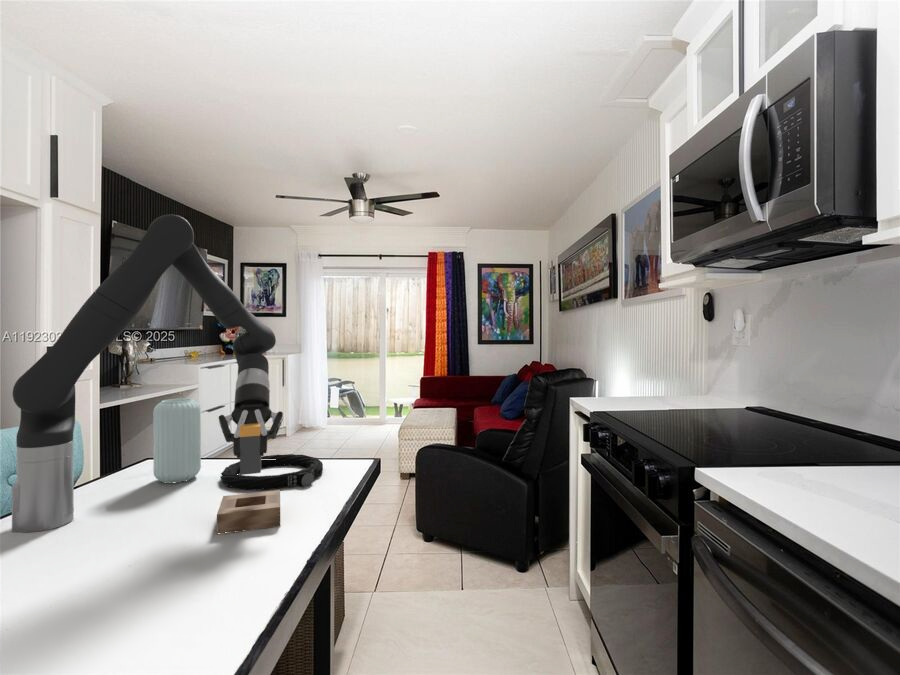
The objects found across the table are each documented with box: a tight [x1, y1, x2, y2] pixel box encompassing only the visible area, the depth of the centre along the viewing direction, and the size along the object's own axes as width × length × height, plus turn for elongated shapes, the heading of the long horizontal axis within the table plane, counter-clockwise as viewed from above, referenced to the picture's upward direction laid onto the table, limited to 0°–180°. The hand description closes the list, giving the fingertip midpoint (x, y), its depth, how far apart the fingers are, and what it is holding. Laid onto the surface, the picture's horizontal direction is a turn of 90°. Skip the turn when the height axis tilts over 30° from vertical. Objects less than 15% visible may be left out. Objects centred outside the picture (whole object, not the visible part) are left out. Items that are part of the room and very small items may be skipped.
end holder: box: [216, 489, 281, 534], centre depth 103 cm, size 12×12×4 cm
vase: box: [152, 398, 202, 484], centre depth 133 cm, size 12×12×22 cm
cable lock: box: [220, 453, 324, 491], centre depth 136 cm, size 28×4×30 cm
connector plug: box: [239, 423, 262, 476], centre depth 103 cm, size 4×4×10 cm
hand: (250, 454), depth 101 cm, fingers closed on connector plug, 4 cm apart
